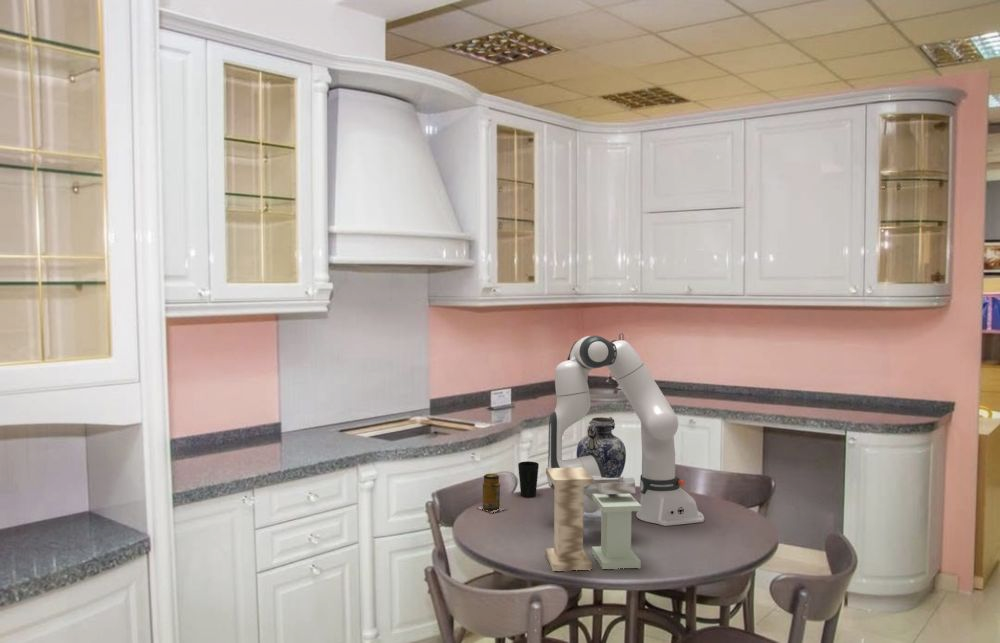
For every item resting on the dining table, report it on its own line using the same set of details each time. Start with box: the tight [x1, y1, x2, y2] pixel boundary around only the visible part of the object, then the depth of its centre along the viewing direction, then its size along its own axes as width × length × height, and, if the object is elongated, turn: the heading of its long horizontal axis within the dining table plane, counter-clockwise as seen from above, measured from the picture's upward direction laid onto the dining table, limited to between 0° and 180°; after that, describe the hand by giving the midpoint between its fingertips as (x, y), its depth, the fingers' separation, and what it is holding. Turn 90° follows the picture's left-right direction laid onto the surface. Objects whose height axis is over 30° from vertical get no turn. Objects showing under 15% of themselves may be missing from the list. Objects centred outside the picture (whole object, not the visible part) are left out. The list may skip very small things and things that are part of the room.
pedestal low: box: [591, 494, 642, 570], centre depth 227 cm, size 11×13×18 cm
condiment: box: [477, 473, 501, 514], centre depth 276 cm, size 7×8×12 cm
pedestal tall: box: [545, 467, 593, 572], centre depth 225 cm, size 11×13×26 cm
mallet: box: [597, 482, 636, 495], centre depth 236 cm, size 10×23×3 cm, turn 6°
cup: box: [517, 461, 540, 499], centre depth 292 cm, size 8×8×12 cm
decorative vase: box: [576, 416, 627, 478], centre depth 297 cm, size 21×19×28 cm
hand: (607, 479), depth 237 cm, fingers open, 8 cm apart
